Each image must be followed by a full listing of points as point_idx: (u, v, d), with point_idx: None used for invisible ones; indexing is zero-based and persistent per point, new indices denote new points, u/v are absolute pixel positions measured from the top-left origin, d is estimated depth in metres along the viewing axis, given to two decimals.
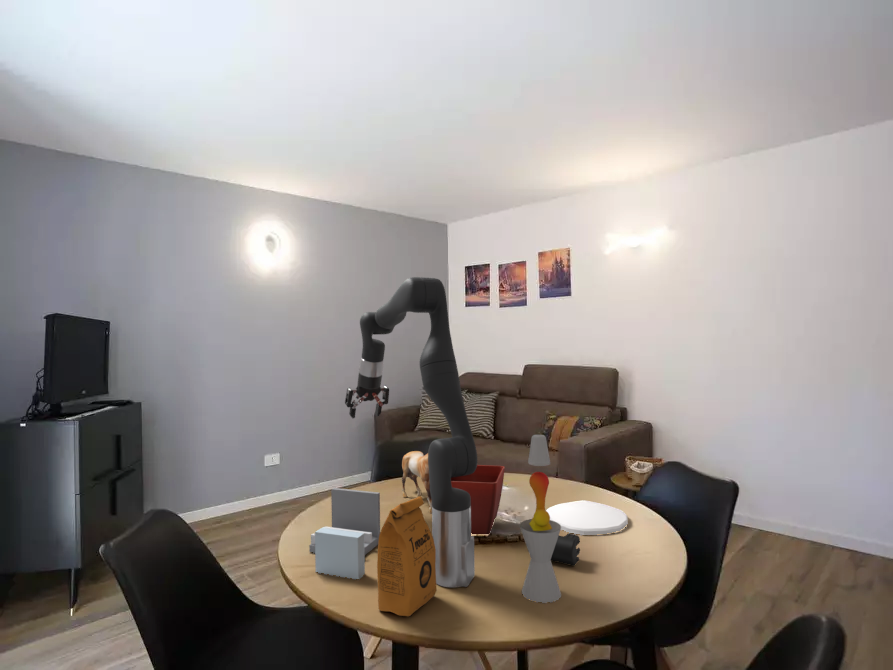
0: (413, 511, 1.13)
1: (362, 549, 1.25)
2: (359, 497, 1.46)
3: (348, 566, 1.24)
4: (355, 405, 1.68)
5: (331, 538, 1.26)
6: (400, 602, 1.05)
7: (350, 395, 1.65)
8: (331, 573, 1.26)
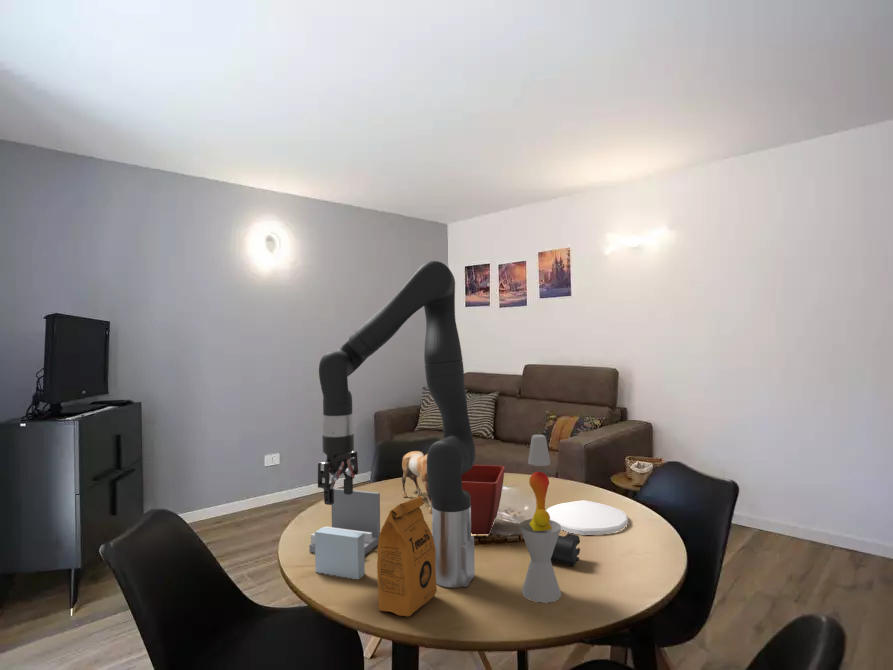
0: (413, 511, 1.13)
1: (362, 549, 1.25)
2: (359, 497, 1.46)
3: (348, 566, 1.24)
4: (333, 483, 1.22)
5: (331, 538, 1.26)
6: (400, 602, 1.05)
7: (328, 470, 1.20)
8: (331, 573, 1.26)
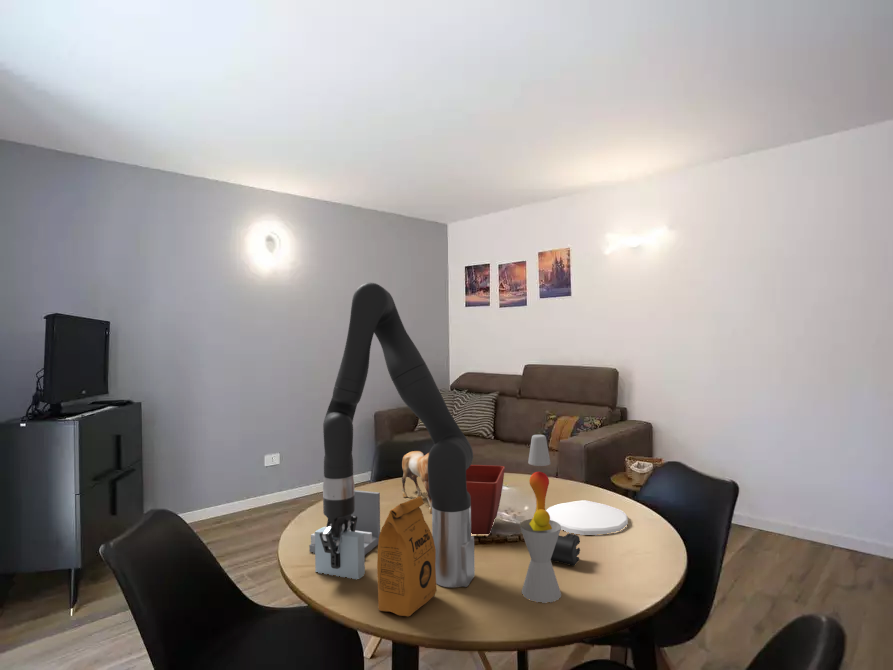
0: (413, 511, 1.13)
1: (362, 549, 1.25)
2: (359, 497, 1.46)
3: (348, 566, 1.24)
4: (339, 547, 1.24)
5: None
6: (400, 602, 1.05)
7: (330, 539, 1.21)
8: (331, 572, 1.26)
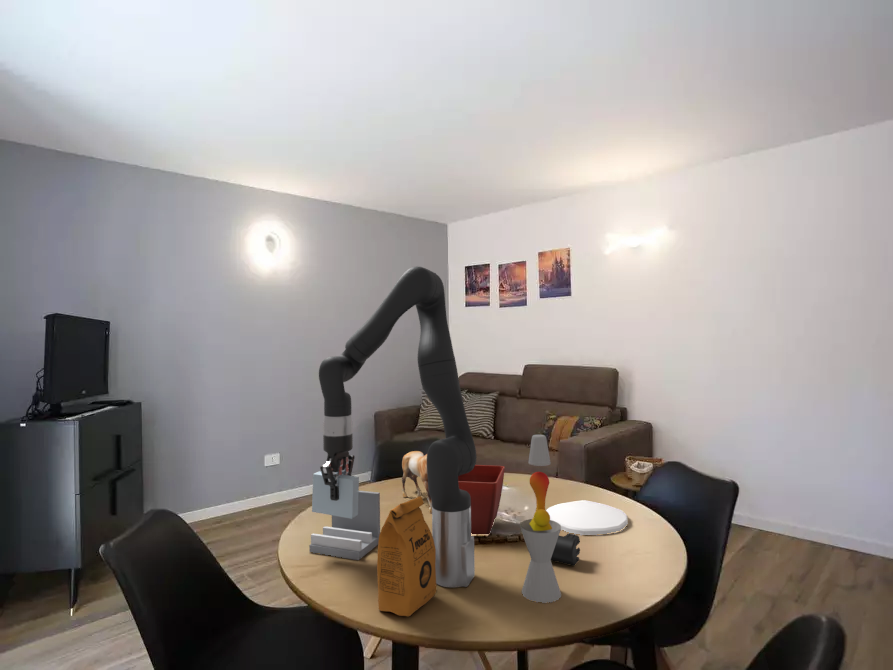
0: (413, 511, 1.13)
1: (356, 491, 1.35)
2: (359, 497, 1.46)
3: (343, 506, 1.34)
4: (338, 481, 1.34)
5: None
6: (400, 602, 1.05)
7: (330, 472, 1.31)
8: (327, 512, 1.36)
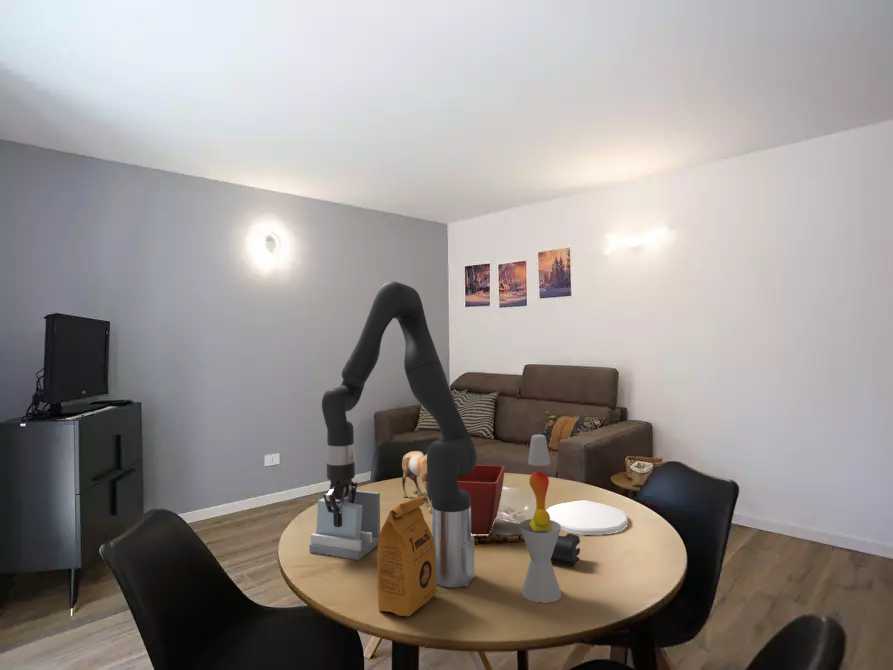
0: (413, 511, 1.13)
1: (360, 519, 1.39)
2: (359, 497, 1.46)
3: (345, 533, 1.38)
4: (341, 508, 1.38)
5: None
6: (400, 602, 1.05)
7: (333, 500, 1.35)
8: None
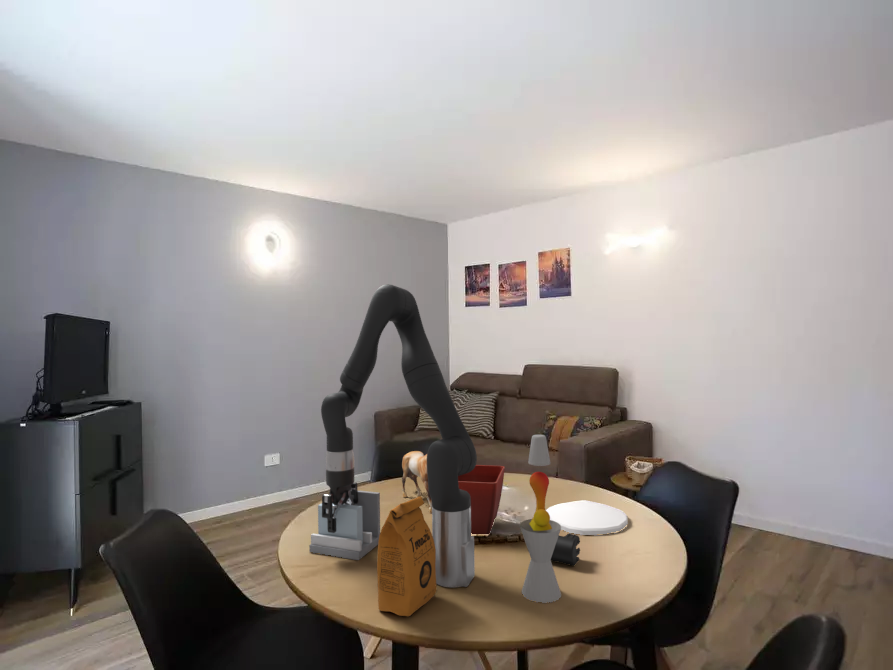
0: (413, 511, 1.13)
1: (360, 520, 1.39)
2: (359, 497, 1.46)
3: (347, 535, 1.38)
4: (335, 513, 1.36)
5: (332, 511, 1.39)
6: (400, 602, 1.05)
7: (331, 501, 1.34)
8: None
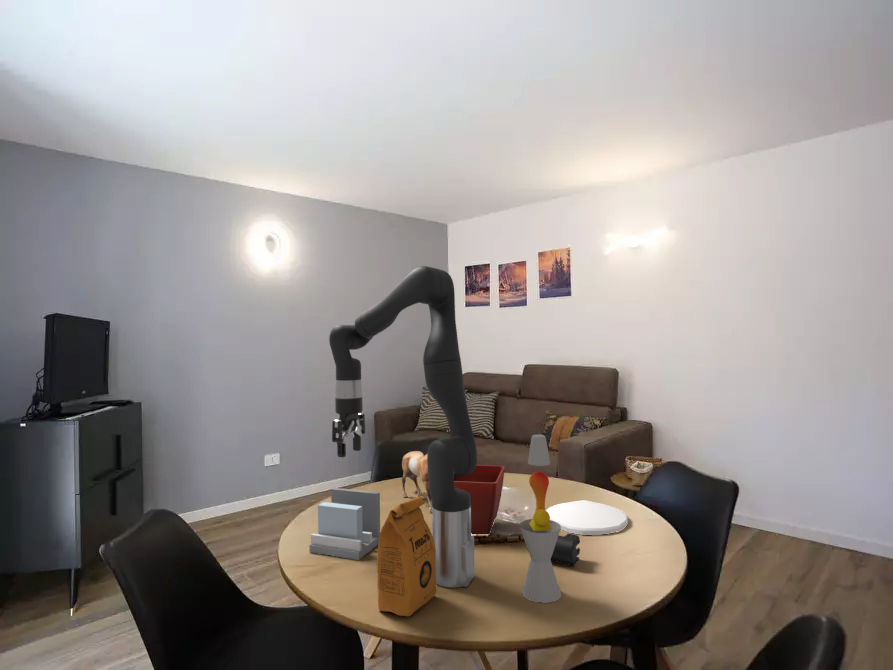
0: (413, 511, 1.13)
1: (360, 520, 1.39)
2: (359, 497, 1.46)
3: (347, 535, 1.38)
4: (345, 439, 1.41)
5: (332, 511, 1.39)
6: (400, 602, 1.05)
7: (341, 426, 1.39)
8: None
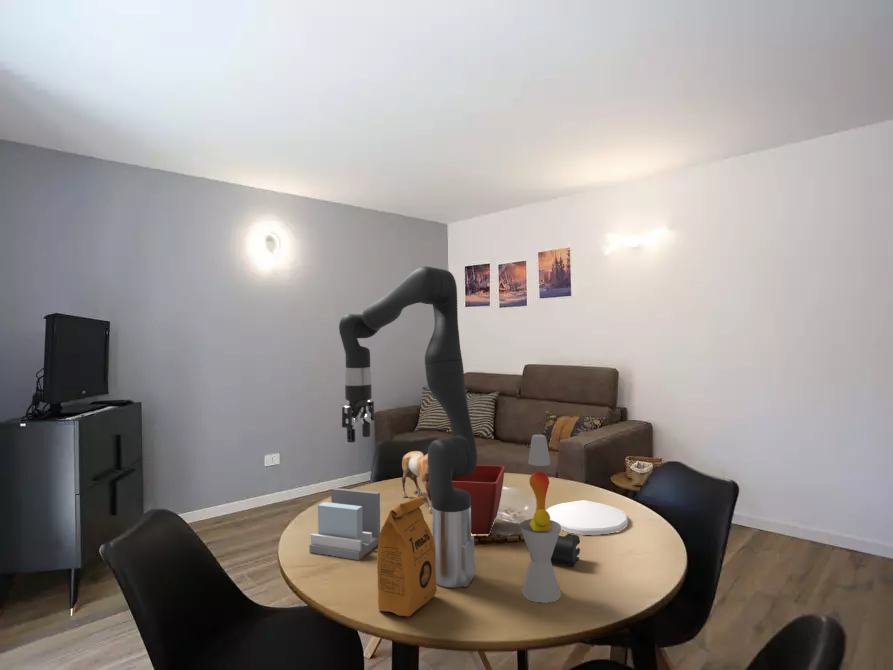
0: (413, 511, 1.13)
1: (360, 520, 1.39)
2: (359, 497, 1.46)
3: (347, 535, 1.38)
4: (354, 424, 1.45)
5: (332, 511, 1.39)
6: (400, 602, 1.05)
7: (350, 412, 1.43)
8: None
